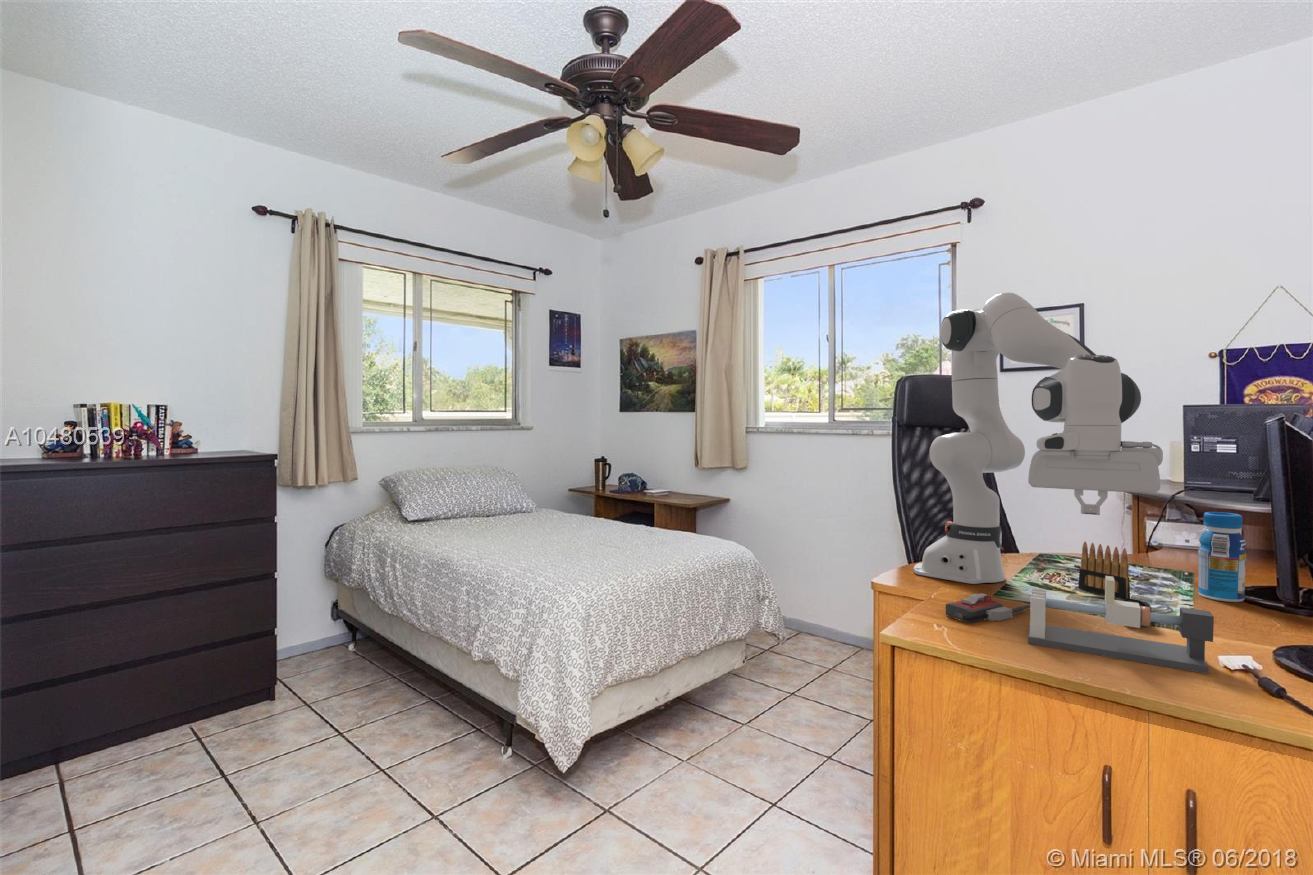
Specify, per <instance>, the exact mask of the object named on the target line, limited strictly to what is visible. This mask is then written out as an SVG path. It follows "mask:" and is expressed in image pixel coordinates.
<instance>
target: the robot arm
mask: <svg viewBox="0 0 1313 875" xmlns="http://www.w3.org/2000/svg"><path fill="white" fill-rule="evenodd" d="M939 331H940V332H939V333H940V334H939V335H940V341H941V343H942V345H943V346H944V347H945V349H947V350H950V351H954V353H953V357H952V367H951V392H952V393H951V398H952V400H951V401H952V409H953V412H954V414H956V415H957V416H959V417H961V418H962V419H963V420H964V421H965V422H966V424H967V426H968V429H969V432H966V431H965V432H951V433H947V434H944V435H939V436H937V437H935V439H934V440H933V441H932V443H931V445H930V447H929V459H930V462H931V464H932V465H933V467H934V468H935V469H936V470H938V471H939V472H940V473H941V474H942V475H943V477H944V478H945V479H946V482H947V483H948V485H949V488H950V491H951V495H952V510H953V515H952V516H953V519H952V520H953V521H950V520H949V521H947V522H946V523H945V524H944V533H945V535H944V536H943V537H941V538H939V539H938V540H936V541H935V542H933V543H932V544H930V545H929V546H927V547H926V548H925V550H924V552H923V555H922V561H921V562H918V563H916V564H915V565H914V566H913V573H914V574H916V575H918V576H924V577H929V578H935V579H942V580H949V581H954V582H958V583H965V584H969V585H971V584H972V585H978V584H985V583H986V584H987V583H991V584H992V583H1001V582H1004V581H1006V579H1007V577H1006V574H1005V572H1004V571H1005V570H1004V567H1003V563H1002V562H1003V561H1002V555H1001V547H1002V539H1003V537H1002V536H1003V535H1002V534H1003V533H1002V526H1001V525H1000V512H1001V511H1000V501H1001V500H1000V497H999V494H997V492H995V491H994V490H993V489H991V488H989V487H988V486H987V485H986V482H985V480H984V473H985V474H987V473H988V474H989V473H1002V472H1007V471H1010V470H1014V469H1016V468H1018V467H1020V466H1021V465H1022V463H1023V461H1024V460H1025V459H1024V458H1025V456H1026V450H1025V445H1024V443H1023V441H1022V440H1021V439H1020V437H1018V436H1017V435H1016V434H1014V433H1013V432H1012V430H1011V429H1010V427H1009V426H1008V425H1007V423H1006V420H1005V419H1004V417H1003V415H1002V414H1003V413H1002V410H1001V406H1000V397H999V396H1000V395H999V394H1000V393H999V381H998V380H999V378H998V368H997V366H998V365H997V360H998V359H997V358H998V356H999V355H1000V354H1001V355H1002V356H1003V357H1005V358H1007V359H1008V360H1010V361H1013V362H1017V363H1023V364H1034V365H1041V366H1049V367H1053V368H1057V369H1060V370H1059V371H1058V372H1056V373H1054V374H1052V375H1050V376H1045V377H1043V378H1041V379H1040V381H1038V382H1037V384H1036V385H1035V386H1034V387H1033V388H1032V392H1031V407H1032V410H1033V411H1034V413H1035V415H1036V416H1037V417H1038V418H1040V419H1041V420H1043V421H1044V422H1050V423H1063V431H1062V432H1059V433H1057V432H1056V433H1052V434H1050V435H1047V436H1043V437H1040V438H1038V439H1037V440H1036V447H1037V449H1038V450H1037V451H1036V452H1035V453H1034V454H1033V455H1032V456H1031V460H1030V464H1029V470H1028V479H1027V480H1028V484H1029V485H1030V486H1031V487H1032V488H1038V489H1039V488H1041V489H1057V490H1058V489H1061V490H1063V489H1064V490H1074V491H1073V492H1074V493H1073V494H1074V497H1075V499H1076V500H1077V501H1078V503H1079V505H1080V514H1082V515H1091V516H1092V515H1095V516H1100V515H1101V514H1100V513H1101V506H1102V505H1103V503H1104V502H1105V501H1106V500H1107V499H1108V496H1109V495H1108V494H1109V493H1108V492H1116V493H1117V492H1118V493H1119V492H1120V493H1135V494H1136V493H1137V494H1138V493H1139V494H1157V492H1159V491H1160V489H1161V476H1160V475H1161V474H1160V469H1159V468H1160V467H1159V466H1160V465H1162V463H1163V460H1164V459H1163V458H1164V456H1163V455H1164V454H1163V452H1164V451H1163V450H1162V448H1161V447H1160V446H1159V445H1157V444H1155V443H1153V442H1151V441H1141V442H1140V441H1129V440H1127V441H1125V440H1123V441H1122V424H1123V423H1124V422H1126V421H1127V420H1129V419H1130V418H1131V417H1132V416H1133V415H1134V414H1135V413H1136V412H1137V411H1138V410H1139V408H1140V405H1141V401H1142V396H1141V394H1142V393H1141V390H1140V388H1139V387H1138V386H1139V385H1137V383H1136V382H1135V381H1134V380H1133V379H1132V378H1131V377H1130V376H1129V375H1127V374H1126V373H1124V372H1121V368H1120V363H1119V361H1118V359H1116V358H1115V357H1113V356H1110V355H1104V354H1103V355H1102V354H1096V353H1095V352H1094V351H1093V350H1091V349H1090V348H1089V347H1088V346H1087V345H1085V344H1084V343H1083V342H1082V341H1080V340H1079V339H1077V338H1076V337H1075V336H1073V335H1070V333H1066V332H1065V331H1063V330H1062V329H1060V328H1058V327H1056V326H1055V325H1053V324H1052V323H1050V322H1049V321H1048V320H1046V319H1045V318H1044V317H1043V316H1042V315H1041V314H1040V313H1039V312H1038V311H1037V309H1036V308H1035V307H1034V306H1033V305H1032V304H1031V303H1030V302H1028V301H1027V300H1026V299H1024V298H1023V297H1022V296H1020V295H1018V294H1017V293H1014V292H1001V293H998V294H995V295H994V296H992V297H991V298H989V299H988V300H987V301H986V302H985V304H984V305H983V307H981V308H971V309H965V308H962V309H958V310H954V311H951V312H948V313H947V314H946V316H944V317H943V319H942V320H941V324H940V330H939ZM1084 491H1097V496H1098V497H1099V499H1098V500H1097V501H1096V502H1095V504H1093V503H1085V501H1084V500H1083V498H1082V497H1083V496H1084Z"/></svg>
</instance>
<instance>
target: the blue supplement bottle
mask: <svg viewBox="0 0 1313 875" xmlns="http://www.w3.org/2000/svg"><path fill="white" fill-rule="evenodd" d="M1203 527H1206V529H1205V530H1203V532H1202V533H1201V535H1200V536H1199V539H1198V542H1199V544H1200V546H1199V547H1198V550H1197V554H1198V586H1197V587H1198V588H1197V593H1198V595H1199V596H1201V597H1202V598H1206V599H1209V600H1213V601H1219V602H1228V603H1241V602H1244V600H1245V598H1246V597H1245V592H1246V591H1245V590H1246V587H1245V586H1246V561H1247V553H1246V551H1245V548H1246V547H1247V542H1246V540H1245V538H1244V537H1243V535H1242V534H1241V533H1240V532H1239V530H1242V528H1243V516H1242V515H1241V514H1239V513H1232V512H1224V511H1207V512H1206V511H1205V512H1204V514H1203Z"/></svg>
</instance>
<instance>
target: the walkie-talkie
mask: <svg viewBox="0 0 1313 875" xmlns="http://www.w3.org/2000/svg"><path fill="white" fill-rule="evenodd" d="M1027 609H1030V604H1025V605H1022V606H1021V605H1020V606H1017V607H1014V608H1013V607H1011V608H1009V607H1006V606H1003V603H1001V602H1000V601H996V600H994V599H992V596H991V595H989V594H986V593H982V592H979V593H974V594H970V595H969V596H968V598H961V600H957V601H954V602H953V601H952V602H949V603H946V604H945V616H946V615H948V616H947V617H949V616H950V617H949V618H952V617H953V619H955V618H957V619H956V620H958V619H960V620H959V621H961V620H962V621H961V622H964V621H965V623H969V624H974V623H977V622H981V621H985V620H984V619H987V620H986V621H994V620H998V621H999V622H1000V621H1003V620H1007V619H1012V618H1013V614H1017V613H1020V612H1023V611H1025V610H1027Z"/></svg>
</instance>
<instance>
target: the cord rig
mask: <svg viewBox="0 0 1313 875" xmlns="http://www.w3.org/2000/svg"><path fill="white" fill-rule="evenodd" d="M1029 605H1030V608H1029V609H1030V611H1029V613H1030V614H1029V615H1030V616H1029V628H1028V633H1027V634H1028V635H1027V644H1030V645H1035V646H1036V645H1037V646H1042V647H1047V648H1055V649H1060V650H1066V651H1071V652H1077V653H1083V654H1089V655H1096V656H1101V657H1107V658H1113V659H1117V660H1118V659H1120V660H1124V661H1125V660H1126V661H1131V662H1136V663H1137V662H1138V663H1141V664H1148V665H1154V666H1160V667H1165V668H1172V669H1176V670H1177V669H1178V670H1183V671H1190V672H1194V673H1195V672H1196V673H1200V674H1208V675H1209V673H1210V672H1209V668H1210V667H1209V665H1208V663H1207V662H1206V660H1205V659H1206V658H1205V657H1206V656H1205V655H1206V654H1205V653H1206V642H1210V643H1214V627H1215V626H1214V622H1215V620H1214V618H1215V617H1214V615H1213V613H1212V612H1211V611H1210V610H1205V609H1197V608H1196V609H1195V608H1189V607H1181V606H1180V607H1179V615H1173V614H1165V613H1158V612H1151V608H1150V607H1151V606H1150V607H1144V606H1141V611H1140V623H1141V625H1142V626H1144V627H1150V626H1151V623H1152V622H1153V623H1160V624H1167V625H1173V626H1178V629H1179V631H1178V632H1179V633H1180V635H1181V637H1182V638H1184V639H1186V645H1181V644H1174V643H1169V642H1163V641H1155V640H1150V639H1149V640H1148V639H1142V638H1135V637H1128V636H1124V635H1123V636H1122V635H1115V634H1109V633H1105V632H1104V633H1103V632H1097V631H1091V630H1082V629H1077V628H1070V627H1063V626H1057V625H1050V624H1047V623H1046V622H1047V620H1046V619H1047V617H1046V614H1047V608H1051V609H1052V608H1053V609H1057V610H1058V609H1060V610H1066V611H1073V612H1078V613H1079V612H1082V613H1085V614H1086V613H1087V614H1095V615H1102V616H1105V615H1106V606H1105V605H1097V604H1090V603H1083V602H1082V603H1081V602H1075V601H1067V600H1059V599H1054V598H1053V599H1052V598H1047V589H1044V588H1036V587H1032V588H1031V593H1030V604H1029Z"/></svg>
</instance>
